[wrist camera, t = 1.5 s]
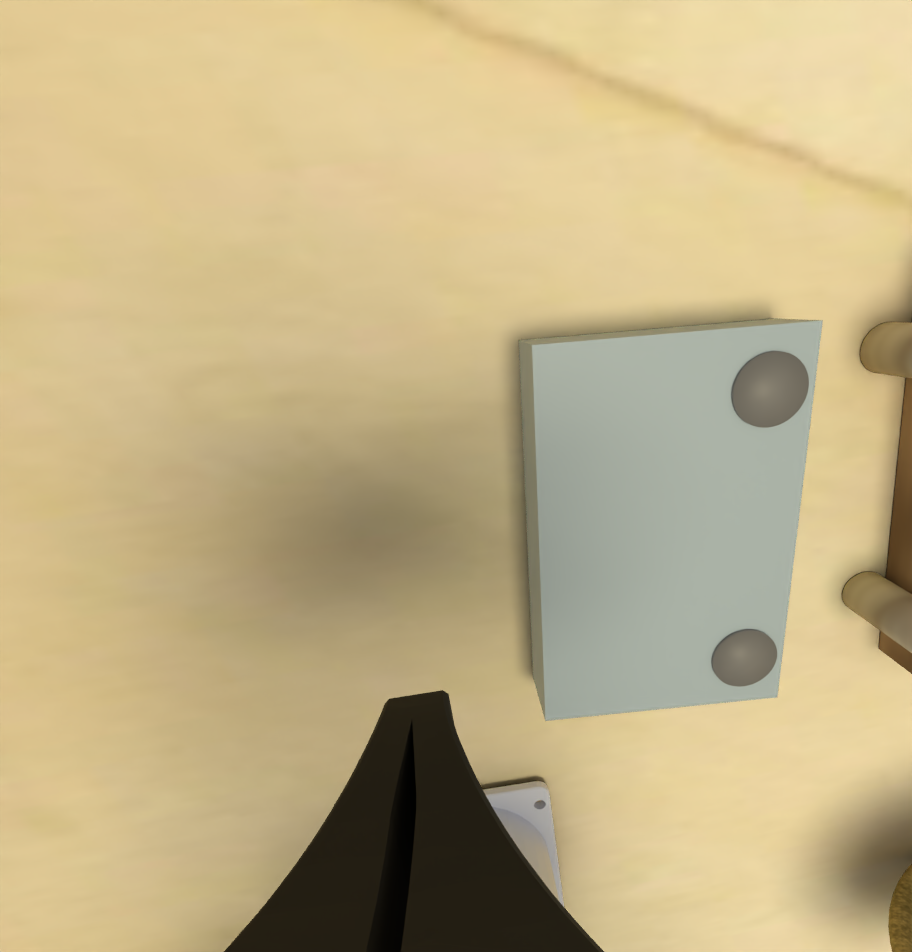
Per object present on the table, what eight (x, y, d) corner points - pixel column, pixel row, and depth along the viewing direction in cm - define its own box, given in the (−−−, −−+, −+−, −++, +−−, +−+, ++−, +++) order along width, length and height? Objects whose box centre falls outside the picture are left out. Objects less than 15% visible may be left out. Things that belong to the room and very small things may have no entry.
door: (735, 650, 24) (779, 699, 21) (531, 670, 24) (546, 723, 21) (764, 318, 20) (825, 320, 17) (516, 339, 19) (533, 345, 16)
